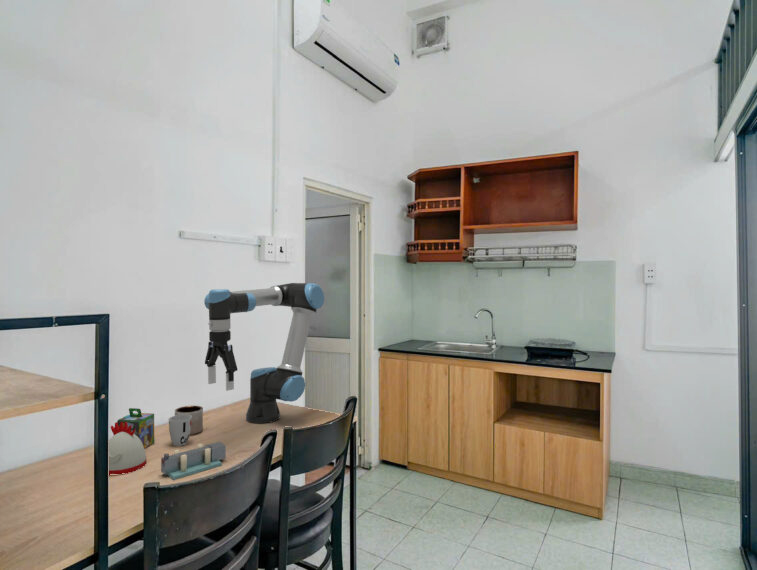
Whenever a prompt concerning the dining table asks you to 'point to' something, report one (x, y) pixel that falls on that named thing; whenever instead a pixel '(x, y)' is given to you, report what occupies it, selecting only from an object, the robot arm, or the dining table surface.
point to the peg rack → (194, 469)
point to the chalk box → (140, 425)
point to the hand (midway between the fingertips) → (220, 386)
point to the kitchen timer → (125, 450)
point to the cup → (180, 429)
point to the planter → (196, 417)
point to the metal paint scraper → (192, 457)
